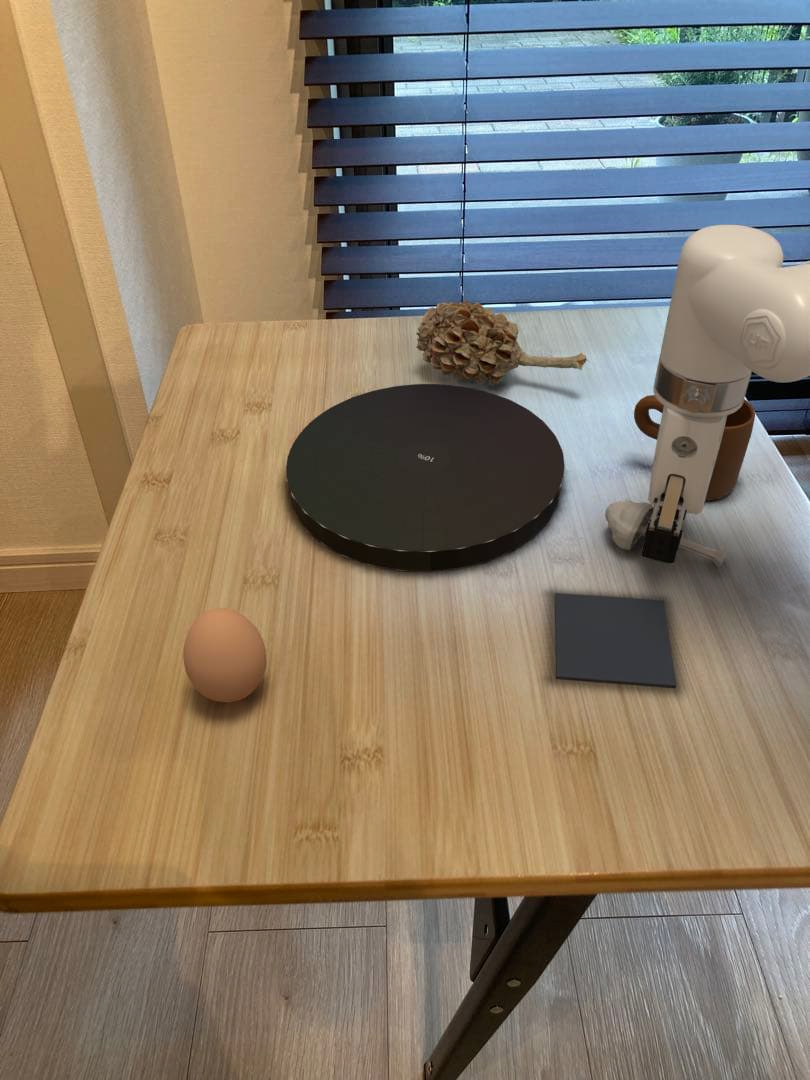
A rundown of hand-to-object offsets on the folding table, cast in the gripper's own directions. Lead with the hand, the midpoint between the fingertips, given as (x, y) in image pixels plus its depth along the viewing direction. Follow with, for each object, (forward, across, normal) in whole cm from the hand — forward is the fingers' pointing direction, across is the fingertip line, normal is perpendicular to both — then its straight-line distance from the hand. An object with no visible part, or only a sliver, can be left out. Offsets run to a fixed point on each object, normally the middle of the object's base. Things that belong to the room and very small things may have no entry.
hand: (663, 535), depth 84 cm
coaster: (+1, -14, +2) cm, 14 cm away
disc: (+1, +2, +26) cm, 26 cm away
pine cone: (+1, +24, +24) cm, 34 cm away
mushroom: (+1, 0, 0) cm, 1 cm away
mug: (+1, +12, 0) cm, 12 cm away
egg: (+1, -31, +31) cm, 44 cm away
